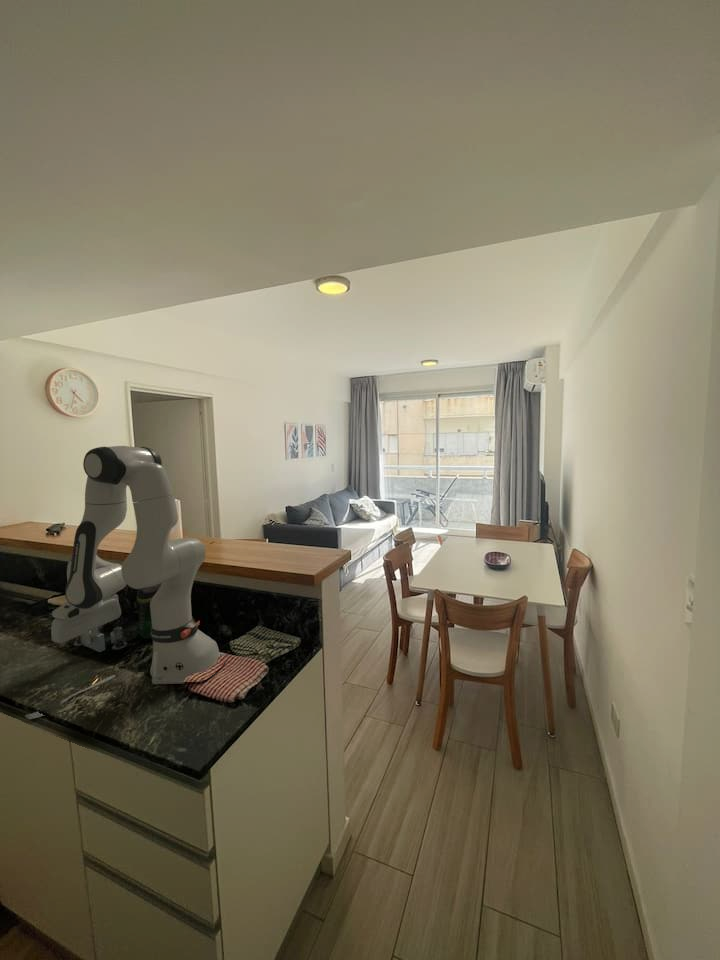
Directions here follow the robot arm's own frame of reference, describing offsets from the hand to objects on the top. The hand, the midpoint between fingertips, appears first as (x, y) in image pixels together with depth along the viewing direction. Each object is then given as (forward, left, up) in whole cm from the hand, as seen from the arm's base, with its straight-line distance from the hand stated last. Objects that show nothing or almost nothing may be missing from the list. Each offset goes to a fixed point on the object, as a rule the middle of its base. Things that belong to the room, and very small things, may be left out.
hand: (90, 642), depth 125 cm
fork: (-16, +18, -5) cm, 24 cm away
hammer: (-5, -5, -4) cm, 8 cm away
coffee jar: (-12, -15, -4) cm, 20 cm away
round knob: (+10, -5, -4) cm, 12 cm away
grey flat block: (+3, -3, -3) cm, 5 cm away
